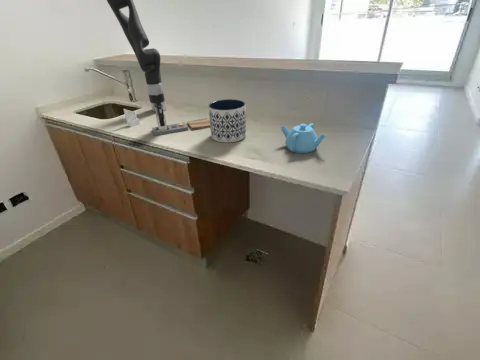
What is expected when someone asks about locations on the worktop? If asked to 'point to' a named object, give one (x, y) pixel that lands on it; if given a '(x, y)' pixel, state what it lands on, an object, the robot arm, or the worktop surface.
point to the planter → (227, 120)
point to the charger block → (159, 122)
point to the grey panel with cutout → (171, 128)
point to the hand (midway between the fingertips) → (162, 124)
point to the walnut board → (199, 124)
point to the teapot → (302, 138)
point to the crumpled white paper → (131, 118)
